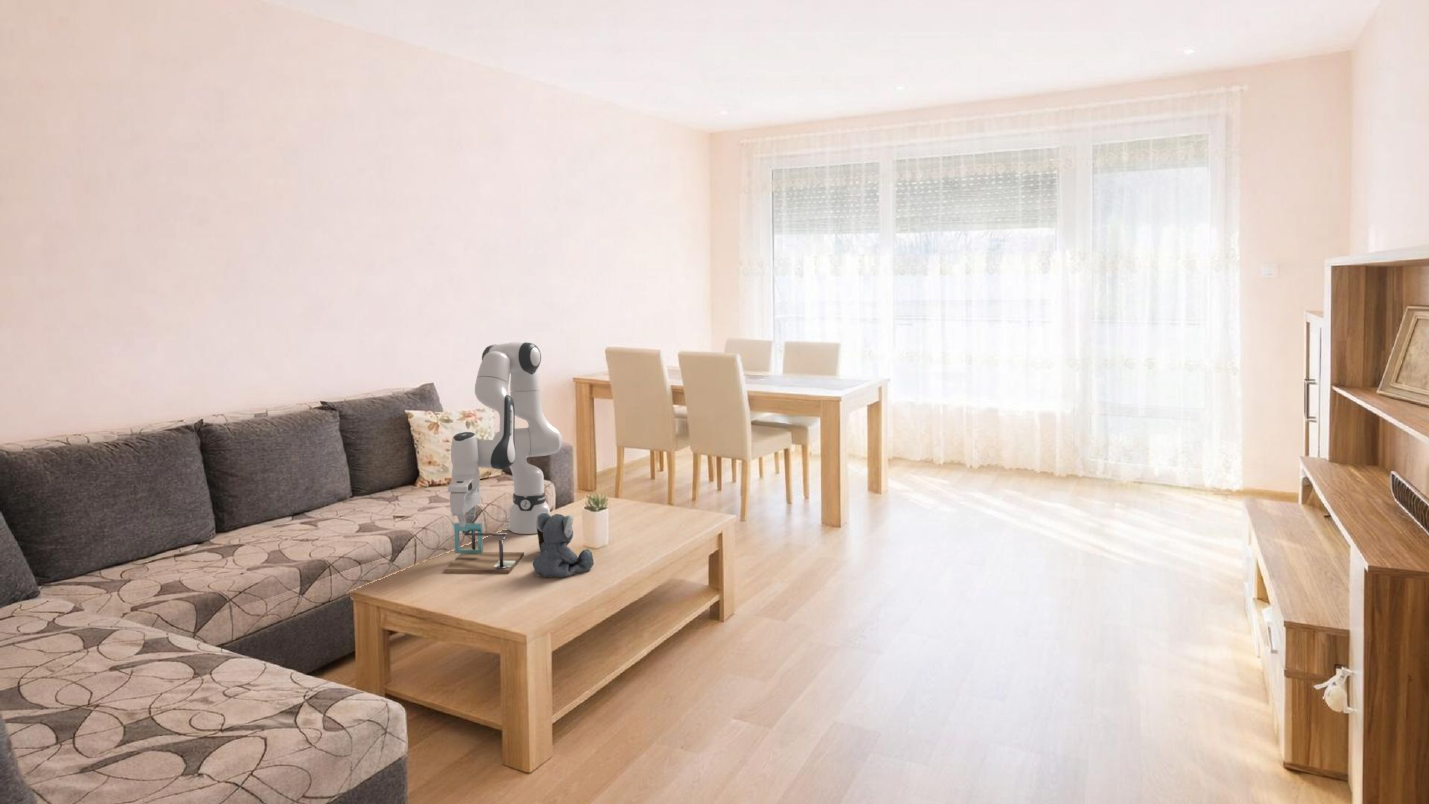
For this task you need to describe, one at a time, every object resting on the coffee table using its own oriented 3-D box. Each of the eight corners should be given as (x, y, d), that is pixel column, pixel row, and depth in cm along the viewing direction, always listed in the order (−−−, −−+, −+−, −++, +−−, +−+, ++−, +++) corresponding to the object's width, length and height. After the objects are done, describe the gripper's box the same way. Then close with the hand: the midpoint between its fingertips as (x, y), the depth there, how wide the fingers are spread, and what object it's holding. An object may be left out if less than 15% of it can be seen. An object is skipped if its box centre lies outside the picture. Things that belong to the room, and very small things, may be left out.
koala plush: (597, 569, 280) (596, 510, 278) (558, 584, 266) (557, 523, 263) (559, 559, 290) (557, 503, 287) (519, 574, 275) (517, 514, 273)
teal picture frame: (456, 552, 289) (455, 522, 287) (482, 552, 288) (481, 523, 287) (455, 553, 288) (454, 523, 286) (481, 553, 287) (480, 524, 286)
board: (463, 554, 294) (463, 550, 294) (524, 555, 294) (524, 551, 293) (444, 572, 276) (444, 568, 276) (509, 573, 275) (509, 569, 275)
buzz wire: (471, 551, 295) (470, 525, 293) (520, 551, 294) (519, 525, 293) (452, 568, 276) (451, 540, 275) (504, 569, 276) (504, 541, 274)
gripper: (466, 475, 295) (468, 514, 297) (445, 488, 275) (447, 530, 276) (484, 475, 295) (486, 514, 297) (465, 488, 275) (467, 530, 276)
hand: (467, 522), depth 286 cm, fingers open, 8 cm apart
